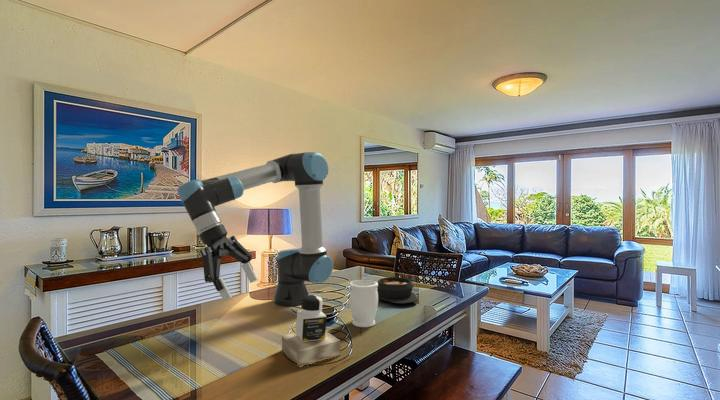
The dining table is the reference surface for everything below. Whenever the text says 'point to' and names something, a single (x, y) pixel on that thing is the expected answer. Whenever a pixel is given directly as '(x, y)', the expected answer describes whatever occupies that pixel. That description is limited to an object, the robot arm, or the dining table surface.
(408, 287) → the casserole
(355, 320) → the jar
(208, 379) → the dining table surface
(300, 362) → the birch block
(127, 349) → the dining table surface
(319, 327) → the medicine bottle
